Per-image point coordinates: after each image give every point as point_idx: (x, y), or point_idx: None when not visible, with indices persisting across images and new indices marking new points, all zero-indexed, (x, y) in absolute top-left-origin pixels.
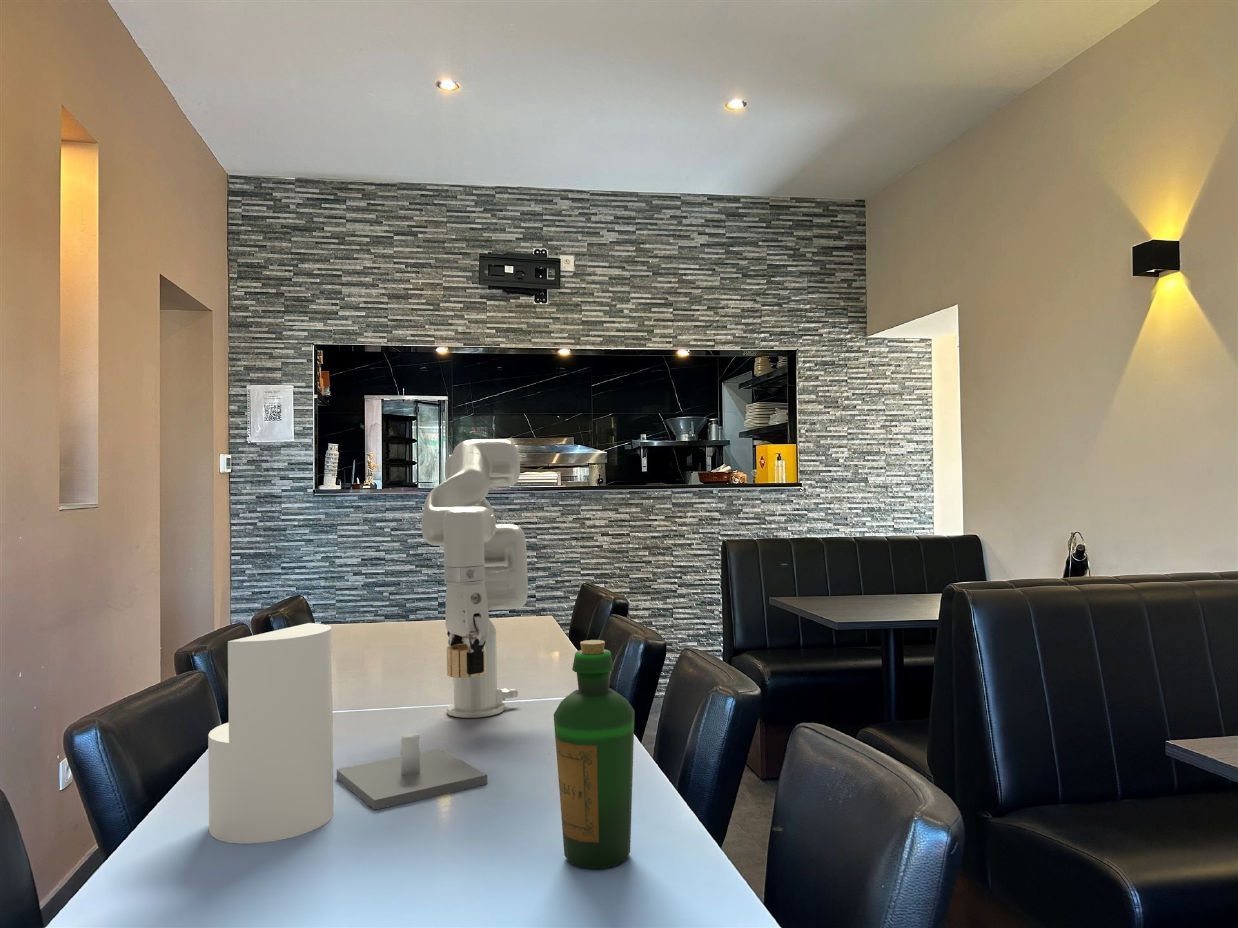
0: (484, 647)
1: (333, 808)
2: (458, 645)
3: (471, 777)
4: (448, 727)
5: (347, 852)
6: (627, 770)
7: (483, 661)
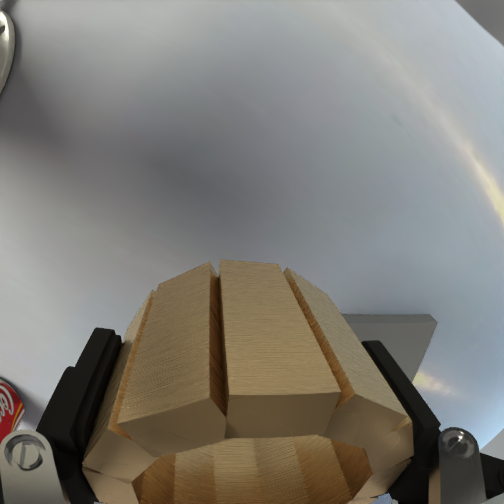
0: (405, 411)
1: None
2: (137, 498)
3: (425, 345)
4: (21, 178)
5: None
6: None
7: (404, 375)
